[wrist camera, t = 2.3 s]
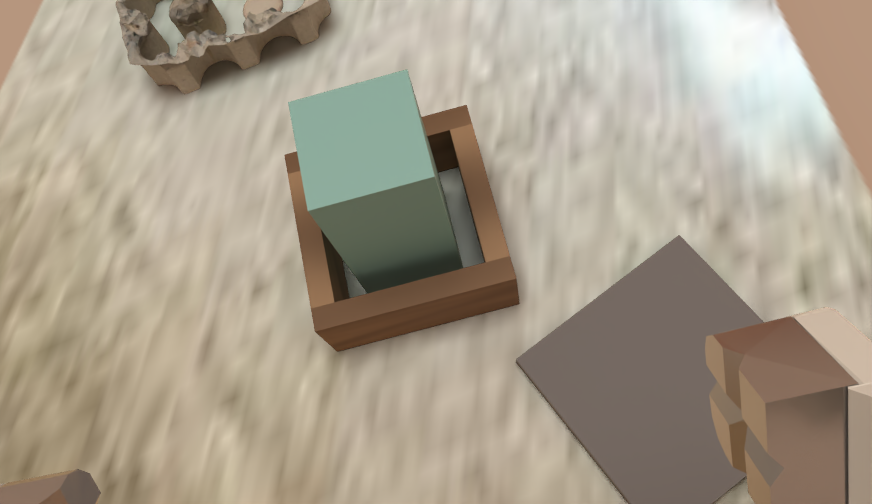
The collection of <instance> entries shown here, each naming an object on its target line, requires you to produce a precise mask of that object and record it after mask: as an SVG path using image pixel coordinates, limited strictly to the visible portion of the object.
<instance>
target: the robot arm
mask: <svg viewBox="0 0 872 504" xmlns="http://www.w3.org/2000/svg"><path fill="white" fill-rule="evenodd" d="M705 354H706V365H707V366H708V368H709V369H710V371H711V372H712V374H713V375H714V377H715V378H716V380H717V383H716V384H715V386H714V387H713V389H712V391H711V392H710V394H709V397H710V404H711V412H712V418H713V422H714V426H715V429H716V433H717V437H718V439H719V442H720V444H721V446H722V448H723V451H724V453H725V455H726V456H727V458H728V460H729V461H730V463H731V465H732V467H734V468H736V469H738V470H740V471H742V472H744V473H746V474H747V485H748V493H749V495H750V496H751V498H752V499H753V501H754V503H755V504H872V341H871V340H870V339H869V338H867V337H866V336H865V335H864V334H863V333H862V332H861V331H859V330H858V329H857V328H856V327H855V326H854V325H852V324H851V323H850V322H849V321H848V320H847V319H846V318H844V317H843V316H842V315H841V314H840V313H839V312H838V311H836V310H835V309H832V308H829V307H823V308H819V309H815V310H811V311H807V312H803V313H799V314H795V315H791V316H787V317H786V318H781V319H777V320H773V321H769V322H764V323H760V324H756V325H752V326H747V327H743V328H739V329H735V330H730V331H726V332H722V333H718V334H713V335H709V336H706V343H705ZM100 494H101V492H100V491H99V489H98V487H97V485H96V484H95V482H94V480H93V478H92V477H91V475H90V473H87V472H85V471H82V470H79V469H76V470H71V471H65V472H60V473H55V474H50V475H45V476H39V477H34V478H29V479H24V480H18V481H13V482H8V483H6V484H0V504H98V501H99V497H100Z"/></svg>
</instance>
